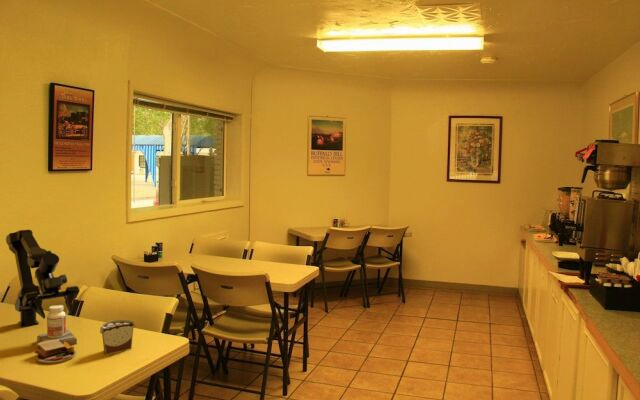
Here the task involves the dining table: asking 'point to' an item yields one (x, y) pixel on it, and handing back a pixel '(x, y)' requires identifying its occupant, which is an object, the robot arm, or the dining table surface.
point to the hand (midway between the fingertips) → (57, 315)
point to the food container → (117, 335)
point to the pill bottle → (56, 322)
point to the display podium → (67, 338)
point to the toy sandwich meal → (54, 352)
